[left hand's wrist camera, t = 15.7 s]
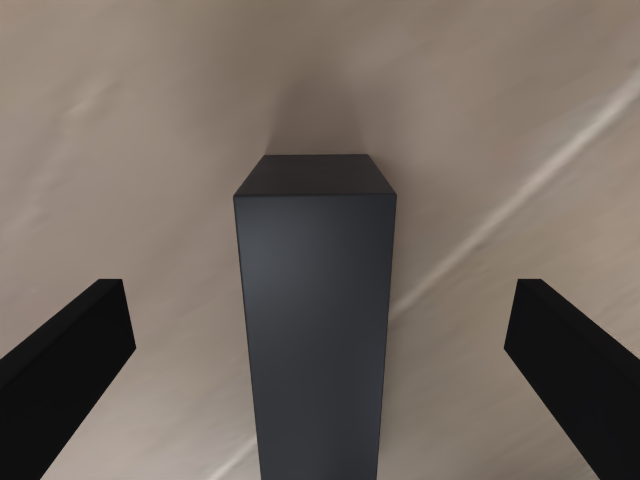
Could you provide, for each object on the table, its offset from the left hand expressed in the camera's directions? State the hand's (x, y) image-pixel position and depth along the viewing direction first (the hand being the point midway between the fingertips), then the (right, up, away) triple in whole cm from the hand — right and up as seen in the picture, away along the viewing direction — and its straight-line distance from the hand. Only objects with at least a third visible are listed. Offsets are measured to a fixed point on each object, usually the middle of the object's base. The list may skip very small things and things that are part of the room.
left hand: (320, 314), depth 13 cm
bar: (0, -4, +12) cm, 13 cm away
